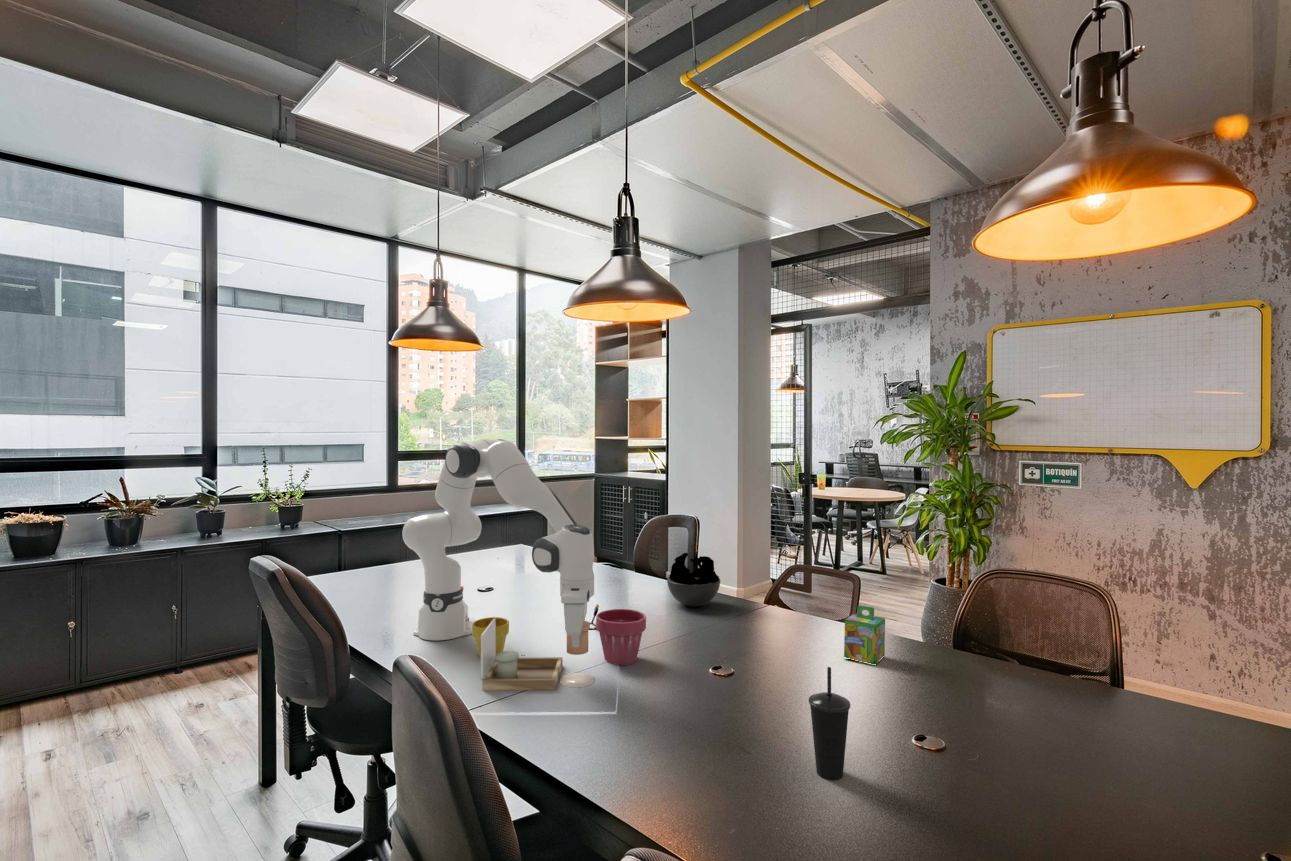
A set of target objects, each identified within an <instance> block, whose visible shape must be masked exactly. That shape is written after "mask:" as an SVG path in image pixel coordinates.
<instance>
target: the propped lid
mask: <svg viewBox="0 0 1291 861" xmlns="http://www.w3.org/2000/svg"><path fill="white" fill-rule="evenodd" d="M495 661H496V619H493V620H492V622H491V623H490V624H489V625H488V627H487V628H486V629H485V631H484V632H483V633H482V635H481V657H480V680H481V681H482V682H483V679H485V677H486V676H487V674H488V672H489V671H490V669H491V668H492V666H493V664H494V663H495Z"/></svg>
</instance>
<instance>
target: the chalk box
mask: <svg viewBox="0 0 1291 861" xmlns="http://www.w3.org/2000/svg"><path fill="white" fill-rule="evenodd" d="M864 611H867V612H868V614H866V613H863V612H864ZM885 638H886V619H885V618H884V617H880V616H875V607H872V606H867V605H858V606H857V610H856V612H854V613H852V614H851V615H850V616H848V617H846V618H845V619H844V639H843V640H844V642H843V644H844V646H843V658H844V657H846V658H850V659H854V660H858V661H862V662H867V663H871V664H877V663H878V662H879V660H880V659H881V658H882V657H883V656H884V657H885V653H886V652H885V651H886V649H885V647H886V646H885V645H886V643H885V642H886V639H885ZM879 663H880V662H879ZM879 663H878V664H879ZM878 664H877V665H878Z"/></svg>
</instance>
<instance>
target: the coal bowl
mask: <svg viewBox="0 0 1291 861" xmlns="http://www.w3.org/2000/svg"><path fill="white" fill-rule="evenodd" d="M688 556H689V553H688V552H684V553H682V554H680V555H679V556H677V557H675V558H674V562H673V563H672V565H671V567H670V568H671V569H670V573H669V576H668V577H667V578H666V583H667V586H668V590H669V592H670V593H671V595H672V596H673V598H674V599H675V600H676V601H677V602H679V603H680V604H682V605H685V606H686V607H702V606H704V605H706V604H708V603H709V602H711V601H712V600H713V599H714V598H715V597H716V596H717V594H718V592H719V589H720V586H721V578H720V576H719V575H717V573H716V571H715V561H714V559H713V558H711V557H710V556H706V555H704V556H702V555H701V556H698V557H697V556H695V557H694V558H690V559H689V561H690V562H692V563H693V564H694V565H697V568H696V570H694V571H693V572H690V569H689V568H688V567H687V566H686V559H687V557H688Z"/></svg>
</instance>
